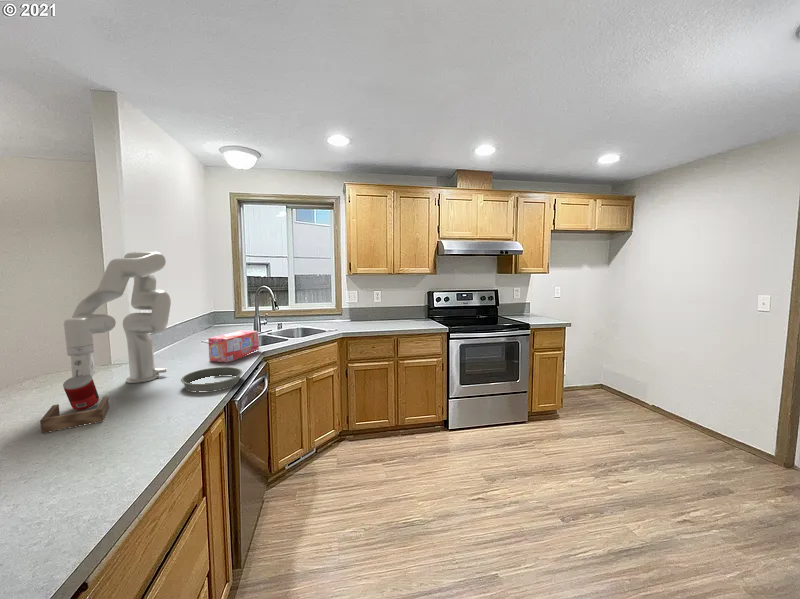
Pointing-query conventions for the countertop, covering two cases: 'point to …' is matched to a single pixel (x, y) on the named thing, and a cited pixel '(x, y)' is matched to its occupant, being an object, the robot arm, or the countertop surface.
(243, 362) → the countertop surface
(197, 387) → the cake pan
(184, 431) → the countertop surface
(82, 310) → the robot arm
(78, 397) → the canned food
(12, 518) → the countertop surface
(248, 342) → the box
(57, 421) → the walnut holder
